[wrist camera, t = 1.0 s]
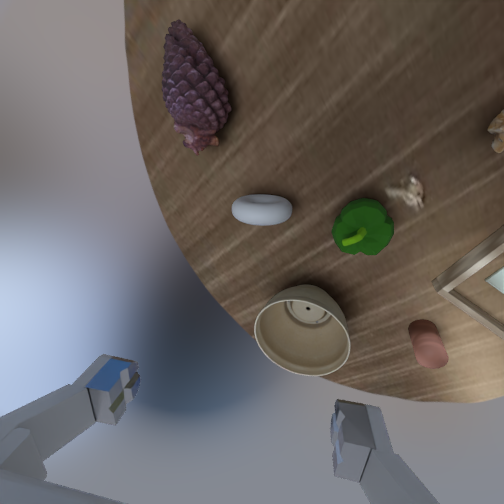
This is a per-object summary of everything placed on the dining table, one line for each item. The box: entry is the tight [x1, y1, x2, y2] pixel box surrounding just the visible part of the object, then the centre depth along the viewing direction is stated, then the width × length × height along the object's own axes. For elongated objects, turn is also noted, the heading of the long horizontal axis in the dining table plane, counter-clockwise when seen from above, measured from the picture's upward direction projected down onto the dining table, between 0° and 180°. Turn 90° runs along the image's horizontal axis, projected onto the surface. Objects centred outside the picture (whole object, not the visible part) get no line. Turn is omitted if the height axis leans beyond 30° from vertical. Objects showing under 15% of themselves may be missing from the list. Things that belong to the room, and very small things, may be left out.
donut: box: [232, 194, 292, 225], centre depth 44 cm, size 10×3×10 cm, turn 89°
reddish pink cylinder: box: [408, 320, 448, 369], centre depth 46 cm, size 4×4×7 cm
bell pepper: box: [332, 198, 394, 255], centre depth 40 cm, size 8×8×10 cm
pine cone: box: [162, 20, 231, 155], centre depth 40 cm, size 18×10×10 cm, turn 9°
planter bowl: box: [254, 284, 350, 376], centre depth 50 cm, size 16×16×11 cm
